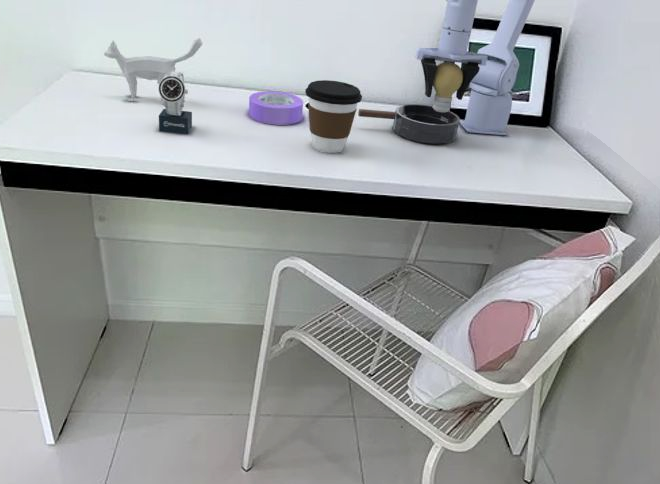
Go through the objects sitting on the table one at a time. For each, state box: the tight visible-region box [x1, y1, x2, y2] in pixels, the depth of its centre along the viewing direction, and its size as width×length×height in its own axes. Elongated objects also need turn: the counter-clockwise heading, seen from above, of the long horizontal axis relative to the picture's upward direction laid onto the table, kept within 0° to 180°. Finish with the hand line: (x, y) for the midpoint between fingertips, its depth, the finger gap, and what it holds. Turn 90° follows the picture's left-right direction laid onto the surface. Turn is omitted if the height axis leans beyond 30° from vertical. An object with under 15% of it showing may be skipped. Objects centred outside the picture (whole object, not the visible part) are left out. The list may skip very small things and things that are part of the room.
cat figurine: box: [103, 37, 203, 102], centre depth 135 cm, size 4×20×14 cm, turn 97°
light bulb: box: [431, 61, 463, 112], centre depth 132 cm, size 6×6×10 cm
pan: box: [392, 103, 461, 145], centre depth 141 cm, size 14×14×4 cm
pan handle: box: [357, 108, 396, 120], centre depth 138 cm, size 8×2×2 cm, turn 97°
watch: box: [158, 71, 193, 135], centre depth 123 cm, size 6×8×11 cm
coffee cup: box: [304, 79, 363, 154], centre depth 124 cm, size 11×11×12 cm
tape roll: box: [248, 90, 304, 126], centre depth 139 cm, size 12×12×4 cm
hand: (443, 97), depth 133 cm, fingers closed on light bulb, 6 cm apart
